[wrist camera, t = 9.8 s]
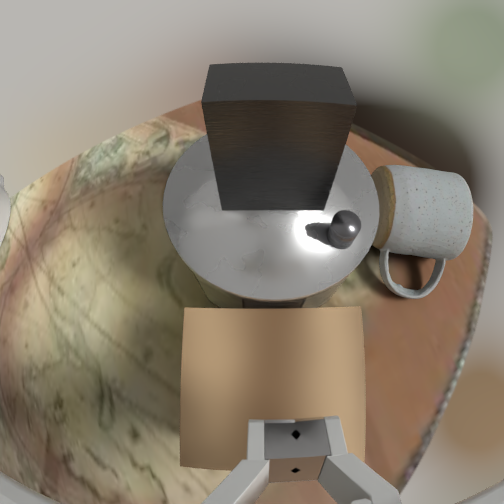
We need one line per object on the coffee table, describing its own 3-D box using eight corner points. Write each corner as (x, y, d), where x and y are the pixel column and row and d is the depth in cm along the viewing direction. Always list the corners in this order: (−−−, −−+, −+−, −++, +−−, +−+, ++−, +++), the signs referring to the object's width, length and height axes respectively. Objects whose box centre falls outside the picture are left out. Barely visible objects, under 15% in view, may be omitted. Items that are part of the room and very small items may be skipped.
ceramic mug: (356, 193, 28) (380, 139, 21) (427, 203, 27) (462, 157, 20) (363, 300, 24) (402, 269, 17) (442, 302, 23) (493, 275, 16)
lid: (152, 300, 16) (70, 225, 8) (182, 128, 22) (158, 31, 14) (391, 299, 16) (482, 227, 8) (354, 129, 22) (381, 35, 14)
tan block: (202, 442, 19) (180, 466, 13) (205, 328, 23) (184, 307, 17) (335, 441, 19) (364, 462, 13) (333, 327, 23) (361, 306, 16)
